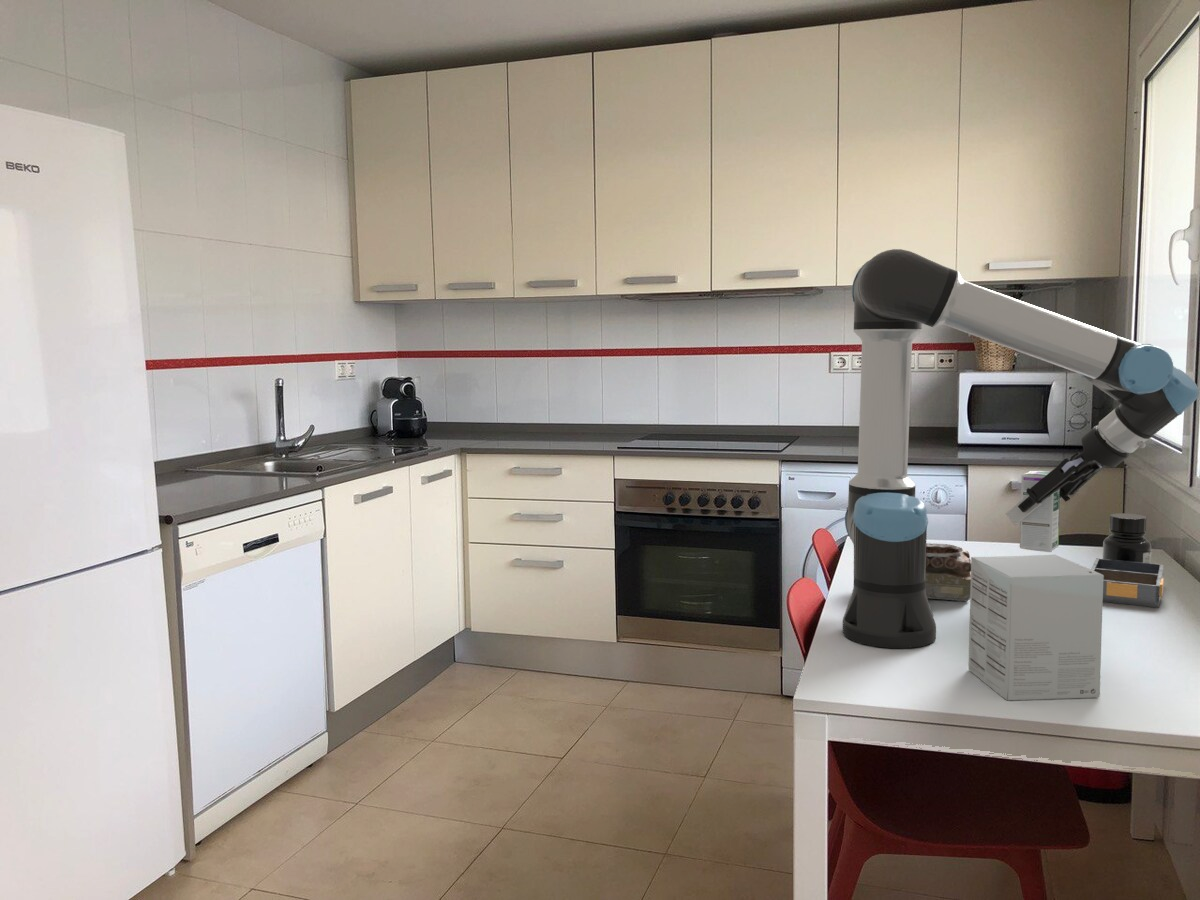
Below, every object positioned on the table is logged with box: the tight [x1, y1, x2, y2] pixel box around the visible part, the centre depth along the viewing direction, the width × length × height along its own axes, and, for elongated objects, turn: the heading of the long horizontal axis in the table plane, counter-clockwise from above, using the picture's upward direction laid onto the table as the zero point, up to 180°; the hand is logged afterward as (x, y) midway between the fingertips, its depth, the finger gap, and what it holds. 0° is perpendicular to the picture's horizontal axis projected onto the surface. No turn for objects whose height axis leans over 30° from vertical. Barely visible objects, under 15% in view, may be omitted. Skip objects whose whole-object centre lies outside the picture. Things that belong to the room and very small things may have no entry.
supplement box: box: [967, 554, 1104, 701], centre depth 136 cm, size 13×13×18 cm
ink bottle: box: [1102, 513, 1152, 563], centre depth 200 cm, size 10×9×12 cm
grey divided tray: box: [1090, 557, 1165, 608], centre depth 185 cm, size 20×12×4 cm, turn 148°
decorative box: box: [926, 542, 971, 602], centre depth 183 cm, size 13×20×10 cm, turn 65°
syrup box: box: [1019, 470, 1061, 553], centre depth 179 cm, size 6×6×14 cm
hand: (1021, 516), depth 182 cm, fingers closed on syrup box, 7 cm apart
